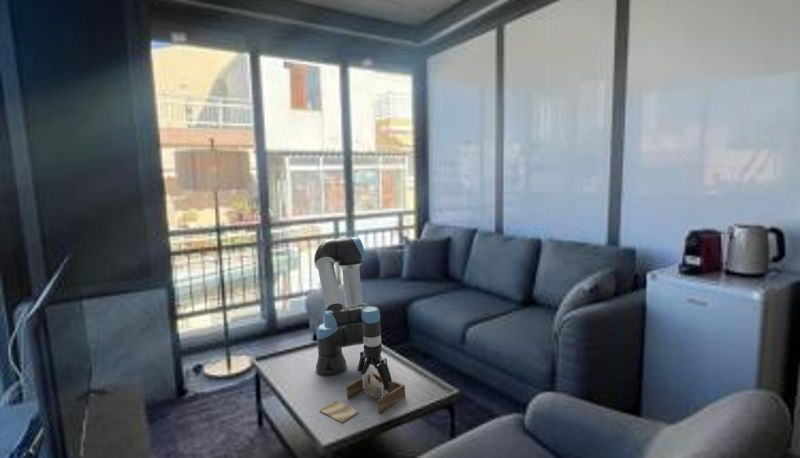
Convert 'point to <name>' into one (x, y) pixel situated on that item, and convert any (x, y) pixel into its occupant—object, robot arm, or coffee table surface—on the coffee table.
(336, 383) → the coffee table surface
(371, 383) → the mineral specimen
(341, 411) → the mat
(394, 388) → the brown open u-shaped frame
